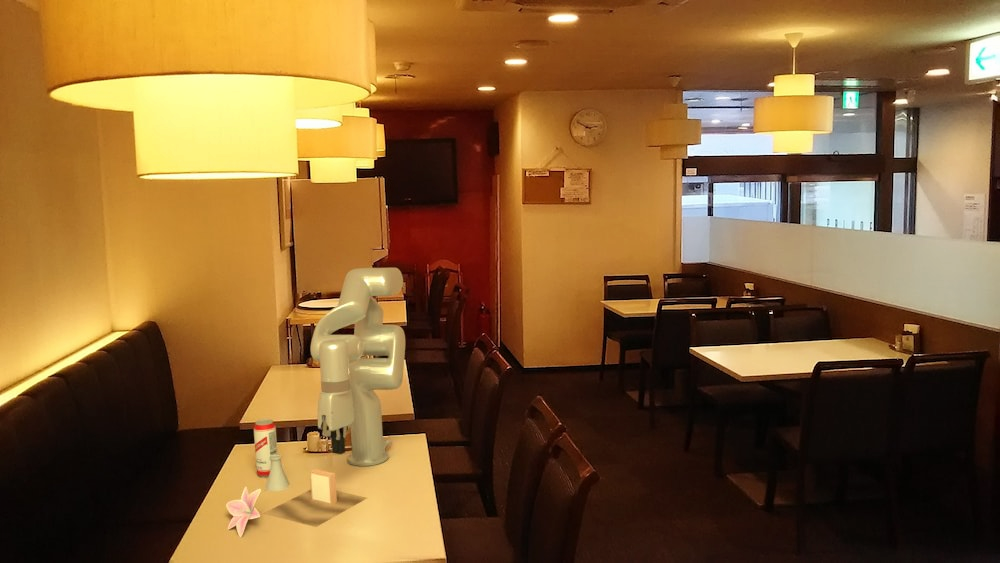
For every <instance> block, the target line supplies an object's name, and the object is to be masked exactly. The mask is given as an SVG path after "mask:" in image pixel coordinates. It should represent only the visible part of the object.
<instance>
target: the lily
mask: <svg viewBox="0 0 1000 563" xmlns="http://www.w3.org/2000/svg"><path fill="white" fill-rule="evenodd" d="M261 491H262V489H261V488H259V489H255V490H254V491H252V492H250V493H249V490H248V487H247V486H245V487H244V489H243V491H242V492H241V493H242V494H241V495H240V496H241V497H240V499H232V500H230V501H227V503H226V504H225V505H226V510H227V511H228V513H229V514H230V515H231V516H233V517H232V518H231V520H230V521H229V524H228V526H227V530H230V529H232V528H234V527H236V531H237V534H238V536H239V538H241V537H242V536H243V534H244V532H245V529H246V526H247V523H248V520H254V519H259V518H260V517H261V514H260V512H259V511H258V510H257V508H256V507H255V504H256V501H257V499H258V497H259V495H260V494H261Z"/></svg>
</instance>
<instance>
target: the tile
mask: <svg viewBox="0 0 1000 563" xmlns="http://www.w3.org/2000/svg"><path fill="white" fill-rule="evenodd" d="M309 478H310V479H309V480H310V490H311V496H312V501H317V502H321V503H325V504H329V505H333V504H335V503H337V495H336V491H337V481H336V480H337V479H336V473H335V472H330V471H325V470H321V469H317V468H315V469H313V470H310V471H309Z"/></svg>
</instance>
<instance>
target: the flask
mask: <svg viewBox="0 0 1000 563" xmlns="http://www.w3.org/2000/svg"><path fill="white" fill-rule="evenodd" d="M269 459H270V460H271V469H270V474H269V477H267V482H266V485H265V489H264V491H265V492H266V491H269V492H280V491H285V490H286V489H288V488H289V486H290V484H291V483H290V481H289V480H288V478H287V475H286V474H285V471H284V469H283V465H282V462H281V459H282V455H281V454H278V455H272V456H270V458H269Z"/></svg>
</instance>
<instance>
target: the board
mask: <svg viewBox="0 0 1000 563" xmlns="http://www.w3.org/2000/svg"><path fill="white" fill-rule="evenodd" d="M336 495H337V503H335V504H333V505H329V504H325V503H321V502H317V501H312V496H311V489H309V490H307V491H305V492H303V493H302V494H301V493H300V494H299V495H297V496H296V497H292V498H291V499H289V500H287V501H285V502H283V503H281V504H279V505H278V506H275V507H273V508H272V509H269V510H268V511H266V512H263V514H264V515H268V516H270V517H276V518H279V519H283V520H287V521H290V522H295V523H297V524H298V523H299V524H302V525H305V526H306V525H307V526H309V527H315V528H317V527H319V526H320V525H322V524H324V523H326V522H328V521H329V520H331V519H333V518H335V517H336V516H338V515H340V514H342V513H343V512H345V511H347V510H350V508H353V507H354V506H356V505H357V504H360V503H362V502H363V501H365V500H367V499H368V497H366V496H361V495H356V494H353V493H347V492H343V491H339V490H336Z"/></svg>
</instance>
